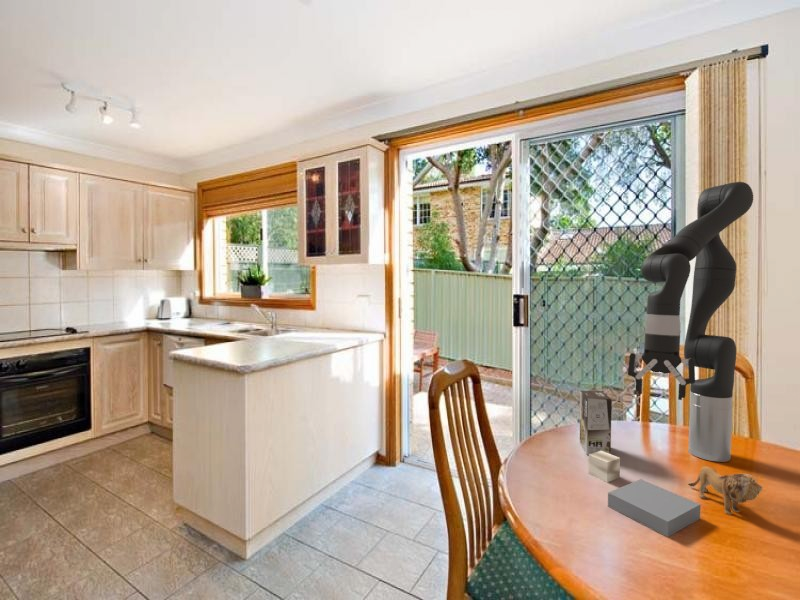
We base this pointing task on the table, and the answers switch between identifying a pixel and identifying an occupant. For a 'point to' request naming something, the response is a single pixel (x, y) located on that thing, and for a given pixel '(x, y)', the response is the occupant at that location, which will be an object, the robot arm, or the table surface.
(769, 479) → the table surface
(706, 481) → the lion figurine
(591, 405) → the coffee box
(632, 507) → the base
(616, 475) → the wooden block
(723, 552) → the table surface
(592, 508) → the table surface
